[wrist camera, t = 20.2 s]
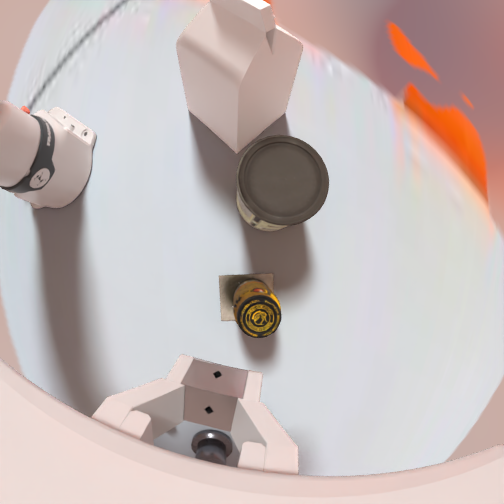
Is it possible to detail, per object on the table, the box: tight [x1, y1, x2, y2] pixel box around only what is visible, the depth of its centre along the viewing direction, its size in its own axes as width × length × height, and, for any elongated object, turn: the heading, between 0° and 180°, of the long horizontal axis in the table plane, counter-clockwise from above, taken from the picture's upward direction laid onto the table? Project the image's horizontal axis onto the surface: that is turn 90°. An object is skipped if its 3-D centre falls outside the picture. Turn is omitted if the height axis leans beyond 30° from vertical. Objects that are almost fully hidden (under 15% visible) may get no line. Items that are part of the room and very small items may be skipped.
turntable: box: [153, 420, 240, 467], centre depth 39 cm, size 24×24×6 cm
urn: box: [191, 429, 232, 466], centre depth 36 cm, size 8×8×10 cm
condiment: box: [219, 273, 281, 338], centre depth 37 cm, size 7×8×12 cm
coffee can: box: [236, 135, 329, 231], centre depth 36 cm, size 10×10×14 cm
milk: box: [176, 0, 303, 154], centre depth 29 cm, size 12×12×26 cm
